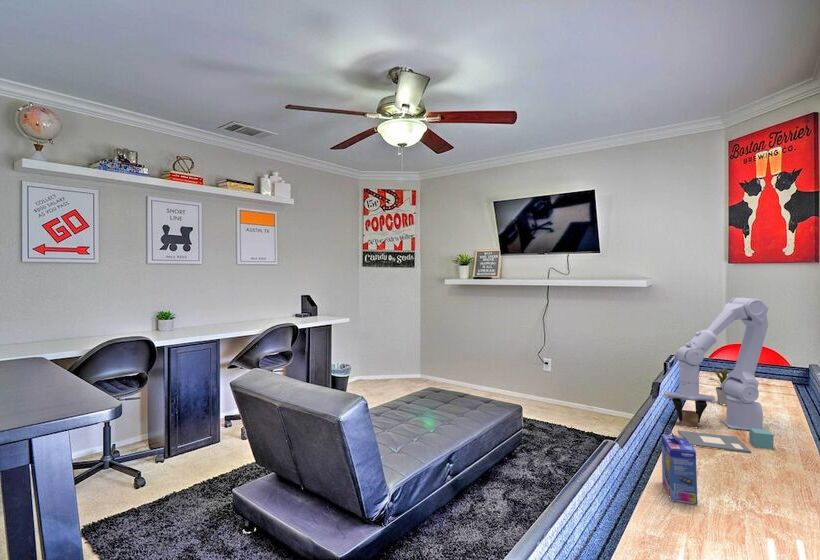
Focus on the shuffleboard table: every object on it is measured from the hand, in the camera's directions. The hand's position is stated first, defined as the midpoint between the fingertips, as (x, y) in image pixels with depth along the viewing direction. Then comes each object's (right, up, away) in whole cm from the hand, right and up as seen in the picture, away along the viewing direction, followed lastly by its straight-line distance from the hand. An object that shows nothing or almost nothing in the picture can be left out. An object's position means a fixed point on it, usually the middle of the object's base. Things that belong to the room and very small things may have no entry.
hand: (688, 421), depth 148 cm
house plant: (+30, -2, +24) cm, 38 cm away
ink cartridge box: (-33, -2, -46) cm, 57 cm away
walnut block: (0, -1, 0) cm, 1 cm away
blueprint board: (-2, -2, -15) cm, 15 cm away
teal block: (+10, -2, -18) cm, 21 cm away
